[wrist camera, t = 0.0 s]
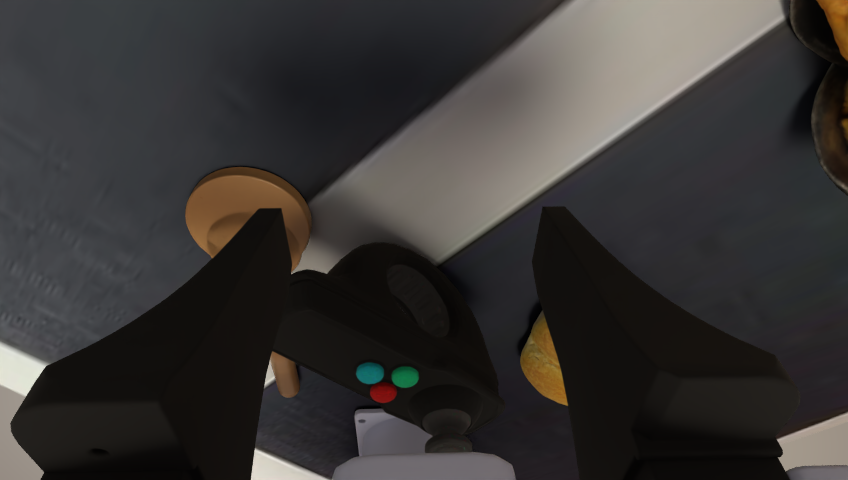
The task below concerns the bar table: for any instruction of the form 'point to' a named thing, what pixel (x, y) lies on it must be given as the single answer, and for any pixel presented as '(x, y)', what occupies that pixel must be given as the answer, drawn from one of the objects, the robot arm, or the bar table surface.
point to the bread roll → (543, 362)
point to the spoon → (231, 208)
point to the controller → (395, 341)
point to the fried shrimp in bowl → (827, 80)
